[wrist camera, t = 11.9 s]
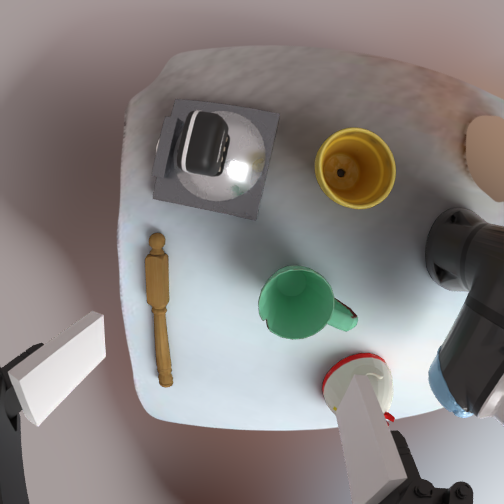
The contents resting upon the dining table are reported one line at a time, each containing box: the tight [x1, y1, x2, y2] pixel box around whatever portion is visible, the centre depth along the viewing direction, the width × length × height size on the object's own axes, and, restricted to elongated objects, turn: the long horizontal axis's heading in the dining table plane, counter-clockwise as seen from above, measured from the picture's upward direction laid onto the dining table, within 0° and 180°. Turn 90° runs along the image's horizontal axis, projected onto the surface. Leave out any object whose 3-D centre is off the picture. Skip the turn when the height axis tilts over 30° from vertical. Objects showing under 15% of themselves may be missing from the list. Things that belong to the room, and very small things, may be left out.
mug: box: [258, 265, 358, 340], centre depth 39 cm, size 15×10×10 cm
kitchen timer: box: [322, 353, 395, 426], centre depth 40 cm, size 14×14×15 cm
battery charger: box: [177, 110, 230, 177], centre depth 31 cm, size 7×4×11 cm, turn 168°
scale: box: [152, 99, 280, 220], centre depth 38 cm, size 16×16×5 cm
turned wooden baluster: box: [145, 233, 173, 387], centre depth 46 cm, size 3×3×30 cm
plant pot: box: [315, 128, 396, 209], centre depth 35 cm, size 10×10×10 cm
